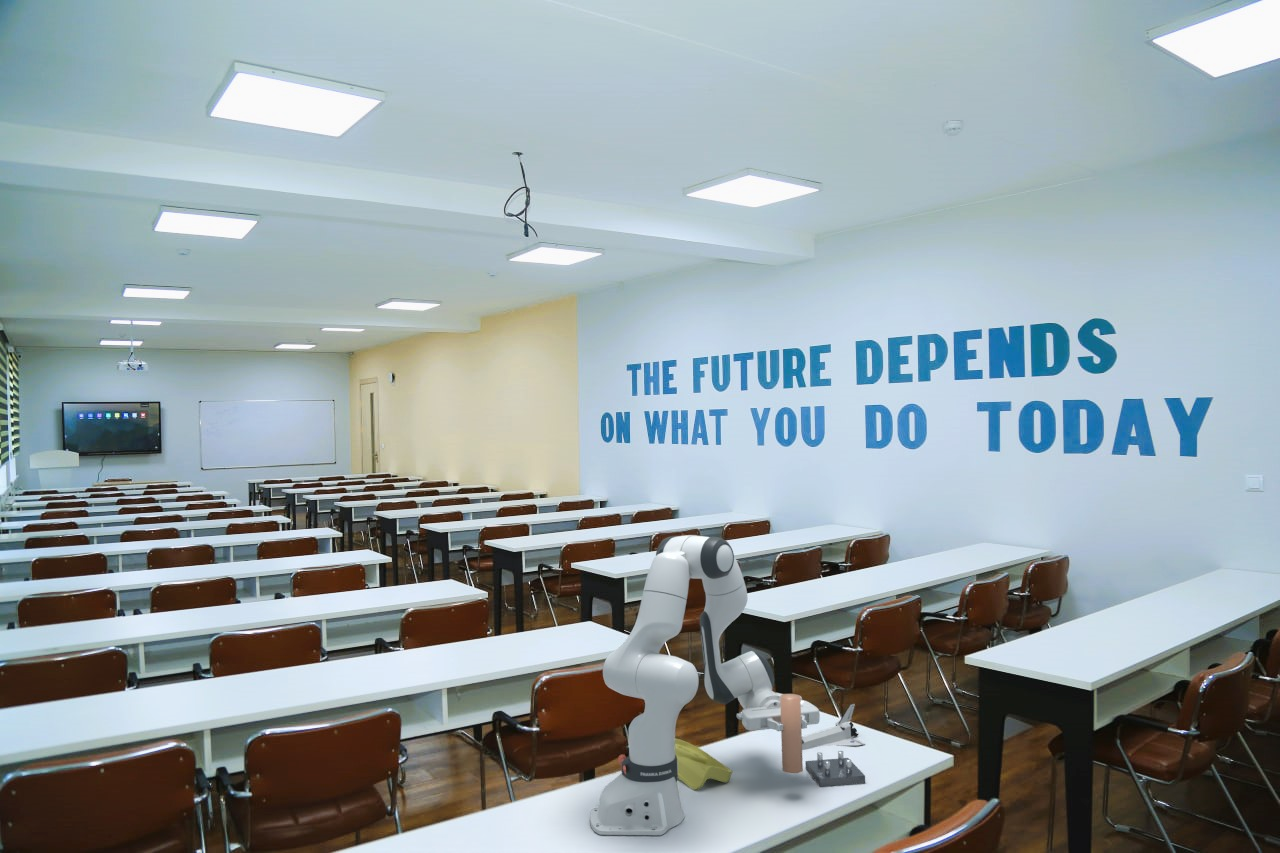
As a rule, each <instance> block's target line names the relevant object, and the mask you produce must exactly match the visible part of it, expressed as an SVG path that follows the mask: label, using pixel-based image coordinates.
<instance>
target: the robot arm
mask: <svg viewBox="0 0 1280 853" xmlns="http://www.w3.org/2000/svg"><path fill="white" fill-rule="evenodd" d="M691 579H698V580H699V579H700V580H701V581H702V586H703V591H704V592H705V593H704V594H705V606H704V610H703V611H702V613H701V614H700V615H699V629H700V630H699V632H700V634H699V635H700V642H701V650H702V659H703V660H702V661H703V680H704V681H703V682H704V687H705V691H706V693H707V696H709V699H710V700H711V701H713V702H715V703H718V704H721V705H727V704H728V703H730V702H731V701H732V702H733V701H734V700H736V699H737V700H738V702H739V703H740V706H741V707H742V710H741V711H739V713H736V718H737V719H738V720H740V721H741V723H742V724H741V725H742V726H743V727H744V728H745V730H747V731H748V732H749V731H750V732H754V731H755V732H757V731H765V730H775V731H776V732H781V731H783V724H782V723H781V706H780V696H781V695H783V694H784V693H780V692H775V691H773V689H774V686H775V676H774V672H773V669H772V666H771V664H770V662H769V661H768V659H766V657H765V656H763V655H762V654H761V653H759V652H758V651H755V650H750V651H747V652H745V653H743V654H740V655H738V656H736V657H735V658H732V659H730V660H729V659H728V660H727V661H725V662H723V663H722V661H721V660H722V659H721V652H720V638H721V636H722V634H723V632H724V631H725V630H726V629H727V627H728V626H730V625H731V624H732V622H734V621H735V620H736V619H737V618H739V616H741V614H742V613H743V611H744V610H745V609H746V606H747V603H748V591H747V585H746V583H745V580H744V576H743V573H742V570H741V567H740V566H739V562H738V561H737V558H736V556H735V553H734V550H733V548H732V546H731V545H730V543H729V542H728V541H727V540H726V539H724V538H721V537H717V536H710V537H709V536H706V535H704V536H702V535H697V534H688V535H687V534H686V535H672V536H667V537H665V538H663V539H662V540H661V541H660V543H659V544H658V547H657V549H656V552H655V557H653V560H652V562H651V564H650V566H649V570H648V572H647V574H646V579H645V582H644V588H643V592H642V596H641V600H640V604H639V605H640V606H639V609H638V613H637V617H636V621H635V624H634V626H633V628H632V630H631V632H630V634H629V635H628V637H627V638H626V639H625V641H624V642H623V643H622V644H621V645H620V646H619V647H618V648H616V649H615V650H613V651H612V652H610V653H609V654H608V655H607V657H606V659H605V660H604V663H603V666H602V667H603V668H602V677H603V680H604V681H603V682H604V683H605V685H606V686H607V687H608V688H609V689H611V690H612V691H615V692H617V693H619V694H621V695H622V696H628V697H632V698H637V699H641V700H644V703H645V704H644V710H643V711H644V712H643V713H640V714H639V715H637V716H636V717H634V718H633V719H632V721H631V723H630V724H629V726H628V751H629V752H628V756H626V755H625V754H620V755H619V756H618V759H617V760H618V763H619V765H620V770H621V772H620V774H618V775H617V776H616V777H615V778H614V779H613V780H611V781H610V782H609V783H607V784H606V785H605V786H604V787H603V789H602V791H601V794H600V797H599V802H598V804H597V805H595V806H594V807H593V808H592V809H591V812H590V815H589V823H590V826H591V829H592V830H593V832H595V833H596V834H597V835H603V836H663V835H664V834H665V833H666V832H668V830H670V829H672V828H674V827H676V826H678V825H679V824H681V822H682V821H683V820H684V818H685V813H684V810H683V806H682V803H681V798H680V794H679V787H678V781H679V778H678V760H677V757H676V754H675V738H676V724H677V720H678V717H679V715H680V712H681V711H682V709H683V707H684V706H685V705H687V704H688V703H690V702H691V701H692V700H693V698H694V697H695V696H696V694H697V692H698V688H699V682H700V681H699V680H700V679H699V673H698V671H697V669H696V666H695V665H694V664H693V663H692V662H690V661H688V660H685V659H683V658H680V657H678V656H676V655H669V654H663V653H660V651H661V649H662V648H663V646H664V645H665V643H666V642H667V641H669V640H670V639H673V638H674V637H676V636H678V635H679V633H681V631H682V628H683V622H684V617H685V611H686V605H687V599H688V595H689V586H690V580H691ZM799 696H800V699H801V730H805V729H807V728H808V726H810V725H818V724H819V723H820V719H821V717H820V709H819V708H818V707H817V706H816V705H814V704H812V703H811V702H809V701H807V700H804V699H803V698H802V696H801V695H799Z"/></svg>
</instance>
